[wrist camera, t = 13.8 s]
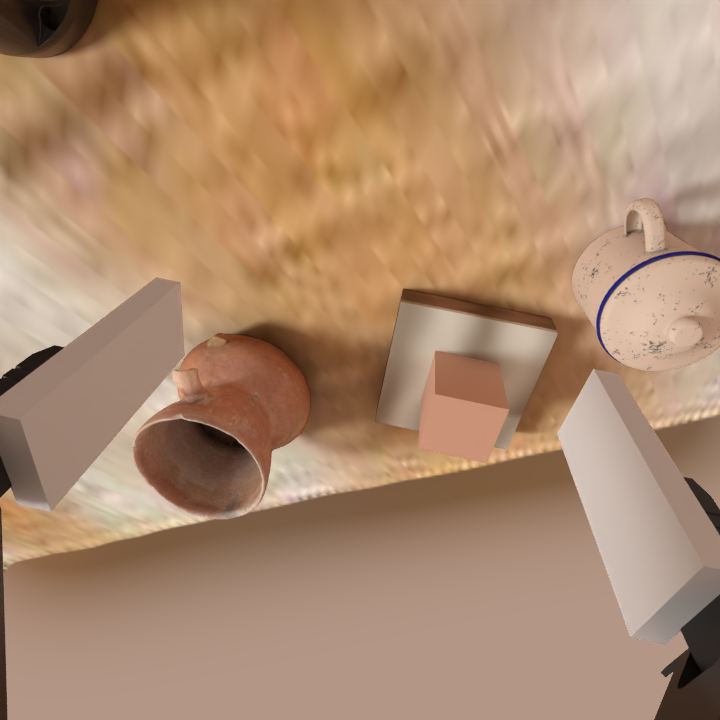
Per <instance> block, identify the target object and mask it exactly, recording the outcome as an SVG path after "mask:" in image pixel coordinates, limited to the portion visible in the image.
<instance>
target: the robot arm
mask: <svg viewBox="0 0 720 720" xmlns="http://www.w3.org/2000/svg"><path fill="white" fill-rule="evenodd" d="M96 4H97V0H0V54H4V55H9V56H17V57H30V58H45V57H50V56H54V55H57V54H60V53H62V52H64V51H66V50H67V49H69V48H70V47H72V46H73V45H74V44H75V43H76V42H77V41H78V40H79V39H80V38H81V36H82V35H83V34H84V32H85V31H86V29H87V27H88V26H89V24H90V22H91V19H92V17H93V14H94V11H95V8H96ZM184 355H185V354H184V338H183V322H182V305H181V289H180V282H175V281H170V280H165V279H161V278H155V279H154V280H153V281H151V282H150V283H149V284H147V285H146V286H145V287H143V288H142V289H141V290H139V291H138V292H137V293H135V294H134V295H133V296H132V297H130V298H129V299H128V300H126V301H125V302H124V303H122V304H121V305H120V306H118V307H117V308H116V309H114V310H113V311H112V312H110V313H109V314H108V315H107V316H105V317H104V318H103V319H101V320H100V321H99V322H97V323H96V324H95V325H93V326H92V327H91V328H89V329H88V330H87V331H86V332H84V333H83V334H82V335H80V336H79V337H78V338H76V339H75V340H74V341H72V342H71V343H70V344H68V345H67V346H66V347H60V346H55V345H54V346H52V347H49V348H47V349H44V350H42V351H39V352H37V353H34V354H32V355H31V356H29V357H28V358H26V359H25V360H24V361H22V362H21V363H19V364H18V365H17V366H16V368H15V369H13V368H12V369H11V370H10V371H8V372H7V373H6V374H4V375H3V376H2V378H1V379H0V497H1V496H2V495H3V494H4V493H5V492H6V491H7V490H8V489H9V488H10V487H11V489H12V491H13V494H14V496H15V499H16V501H17V504H18V505H23V506H27V507H32V508H36V509H41V510H46V511H50V512H51V511H52V510H53V509H54V507H55V506H56V505H57V504H58V503H59V502H60V500H61V499H62V498H63V497H64V496H65V495H66V493H67V492H68V491H69V490H70V489H71V488H72V486H73V485H74V484H75V483H76V482H77V481H78V479H79V478H80V477H81V476H82V475H83V473H84V472H85V471H86V470H87V469H88V468H89V466H90V465H91V464H92V463H93V462H94V461H95V459H96V458H97V457H98V456H99V455H100V454H101V452H102V451H103V450H104V449H105V448H106V447H107V445H108V444H109V443H110V442H111V441H112V440H113V438H114V437H115V436H116V435H117V434H118V433H119V431H120V430H121V429H122V428H123V427H124V425H125V424H126V423H127V422H128V421H129V420H130V418H131V417H132V416H133V415H134V414H135V413H136V411H137V410H138V409H139V408H140V407H141V406H142V404H143V403H144V402H145V401H146V400H147V399H148V397H149V396H150V395H151V394H152V393H153V392H154V390H155V389H156V388H157V387H158V386H159V385H160V383H161V382H162V381H163V380H164V379H165V378H166V376H167V375H168V374H169V373H170V372H171V370H172V369H173V368H174V367H175V366H176V365H177V363H178V362H179V361H180V360H181V359H182V358H183V356H184ZM557 434H558V437H559V440H560V443H561V446H562V448H563V451H564V454H565V456H566V459H567V462H568V465H569V468H570V471H571V473H572V476H573V479H574V482H575V484H576V487H577V490H578V493H579V495H580V498H581V501H582V504H583V507H584V509H585V512H586V515H587V518H588V521H589V523H590V526H591V529H592V532H593V534H594V537H595V540H596V543H597V546H598V548H599V551H600V554H601V557H602V559H603V562H604V565H605V568H606V571H607V573H608V576H609V579H610V581H611V584H612V587H613V590H614V593H615V596H616V598H617V601H618V604H619V607H620V609H621V612H622V615H623V618H624V621H625V623H626V626H627V629H628V632H629V634H630V637H632V638H637V639H641V640H646V641H651V642H655V643H660V644H664V645H665V644H666V643H667V642H668V641H670V640H671V639H672V638H673V637H674V636H675V635H677V634H678V633H679V632H680V631H682V634H683V636H684V638H685V640H686V643H687V645H688V647H689V648H688V649H687V650H686V651H685V652H684V653H682V654H681V655H680V656H679V657H678V658H676V659H675V660H674V661H673V662H672V663H670V664H669V665H668V666H667V667H666V668H665V669H664V670H663V671H662V672H661V673H662V674H663V675H664V676H665V677H667V676H668V675H669V674H670V673H672V672H673V675H672V677H671V680H670V682H669V685H668V687H667V690H666V692H665V695H664V697H663V699H662V702H661V705H660V707H659V709H658V712H657V714H656V717H655V719H654V720H720V509H719V508H718V506H717V505H716V503H715V502H714V500H713V499H712V497H711V496H710V495H709V494H708V493H707V492H706V491H705V490H704V489H702V488H701V487H700V486H699V485H698V484H697V483H696V482H695V481H694V480H693V479H690V478H686V477H683V476H682V475H681V473H680V471H679V470H678V468H677V467H676V465H675V464H674V462H673V460H672V459H671V457H670V456H669V454H668V453H667V451H666V449H665V448H664V446H663V445H662V443H661V441H660V440H659V438H658V437H657V435H656V434H655V432H654V430H653V429H652V427H651V425H650V424H649V422H648V421H647V419H646V418H645V416H644V414H643V413H642V411H641V410H640V408H639V406H638V405H637V403H636V402H635V400H634V399H633V397H632V395H631V394H630V392H629V391H628V389H627V387H626V386H625V384H624V383H623V381H622V380H621V378H620V376H619V375H618V374H616V373H612V372H607V371H602V370H597V369H593V370H592V372H591V374H590V376H589V378H588V379H587V381H586V383H585V385H584V387H583V388H582V390H581V392H580V394H579V396H578V397H577V399H576V401H575V403H574V405H573V406H572V408H571V410H570V412H569V414H568V415H567V417H566V419H565V421H564V423H563V424H562V426H561V428H560V430H559V432H558V433H557ZM0 720H7V692H6V655H5V623H4V588H3V553H2V519H1V508H0Z"/></svg>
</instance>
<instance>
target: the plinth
mask: <svg viewBox="0 0 720 720" xmlns="http://www.w3.org/2000/svg"><path fill="white" fill-rule="evenodd" d="M557 335H558V331H557V329H556V327H555V325H554V323H553V321H552V319H551V318H548V317H543V316H538V315H533V314H528V313H523V312H517V311H512V310H507V309H502V308H497V307H492V306H487V305H482V304H477V303H472V302H467V301H462V300H457V299H452V298H447V297H442V296H437V295H432V294H427V293H422V292H417V291H411V290H406V289H403V291H402V296H401V301H400V305H399V310H398V314H397V319H396V324H395V328H394V333H393V338H392V342H391V347H390V351H389V356H388V361H387V365H386V370H385V374H384V379H383V384H382V388H381V393H380V398H379V402H378V407H377V413H376V418H375V422H378V423H383V424H388V425H392V426H397V427H402V428H407V429H411V430H416V431H419V429H420V409H421V399H422V395H423V392H424V388H425V385H426V381H427V378H428V374H429V371H430V367H431V364H432V360H433V357H434V353H435V351H439V352H444V353H449V354H454V355H459V356H463V357H468V358H473V359H478V360H483V361H488V362H493V363H497V364H499V366H500V371H501V375H502V380H503V384H504V388H505V393H506V397H507V402H508V406H509V412H508V414H507V416H506V419H505V421H504V423H503V426H502V428H501V431H500V433H499V435H498V438H497V440H496V442H495V445H494V447H496V448H501V449H506V450H507V448H508V446H509V444H510V441H511V439H512V437H513V435H514V432H515V430H516V428H517V426H518V423H519V421H520V419H521V417H522V414H523V412H524V410H525V407H526V405H527V403H528V401H529V398H530V396H531V394H532V392H533V389H534V387H535V385H536V383H537V380H538V378H539V376H540V374H541V371H542V369H543V367H544V364H545V362H546V360H547V358H548V355H549V353H550V351H551V349H552V346H553V344H554V342H555V340H556V337H557Z"/></svg>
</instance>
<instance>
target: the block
mask: <svg viewBox="0 0 720 720" xmlns="http://www.w3.org/2000/svg"><path fill="white" fill-rule="evenodd" d="M508 412H509V406H508V402H507V397H506V393H505V388H504V384H503V380H502V375H501V371H500V366H499V364H497V363H493V362H488V361H483V360H478V359H473V358H468V357H463V356H459V355H454V354H449V353H444V352H439V351H435V353H434V357H433V360H432V364H431V367H430V371H429V374H428V378H427V381H426V385H425V388H424V392H423V395H422V399H421V409H420V429H419V449H422V450H427V451H432V452H436V453H441V454H446V455H450V456H455V457H460V458H464V459H469V460H474V461H478V462H483V463H487V461H488V459H489V457H490V454H491V452H492V450H493V447H494V445H495V442H496V440H497V438H498V435H499V433H500V431H501V428H502V426H503V423H504V421H505V419H506V416H507V414H508Z"/></svg>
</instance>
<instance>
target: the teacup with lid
mask: <svg viewBox="0 0 720 720" xmlns="http://www.w3.org/2000/svg"><path fill="white" fill-rule="evenodd" d="M572 288H573V293H574V296H575V298H576V300H577V302H578V303H579V305H580V307H581V308H582V310H583V311H584V313H585V314H586V316H587V317H588V319H589V320H590V322H591V323H592V325H593V326H594V328H595V329H596V331H597V335H598V338H599V341H600V343H601V345H602V347H603V348H604V349H605V351H606V352H607V353H608V354H609V355H610V356H611V357H612V358H614V359H615V360H617V361H618V362H620V363H622V364H624V365H626V366H629V367H632V368H635V369H639V370H645V371H667V370H673V369H678V368H681V367H685V366H688V365H690V364H693V363H695V362H697V361H699V360H701V359H703V358H705V357H706V356H708V355H710V354H711V353H713V352H714V351H715V350H717V349H718V348H719V347H720V259H719V258H717V257H715V256H713V255H710V254H706V253H702V252H700V251H699V250H697V249H696V248H694V247H692V246H691V245H689V244H688V243H686V242H684V241H683V240H681V239H680V238H678V237H676V236H675V235H673V234H672V233H670V232H668V231H667V230H666V225H665V220H664V216H663V213H662V210H661V208H660V207H659V205H658V204H657V203H656V202H655V201H654V200H652V199H650V198H643V199H640V200H636V201H634V202H632V203H631V204H630V205H629V206H628V208H627V210H626V213H625V218H624V226H621V227H618V228H615V229H613V230H611V231H609V232H607V233H605V234H603V235H601V236H600V237H599V238H597V239H596V240H595V241H593V242H592V243H591V244H590V245H589V246H588V247H587V248H586V249H585V251H584V252H583V253H582V255H581V256H580V258H579V259H578V261H577V263H576V266H575V268H574V272H573V277H572Z"/></svg>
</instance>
